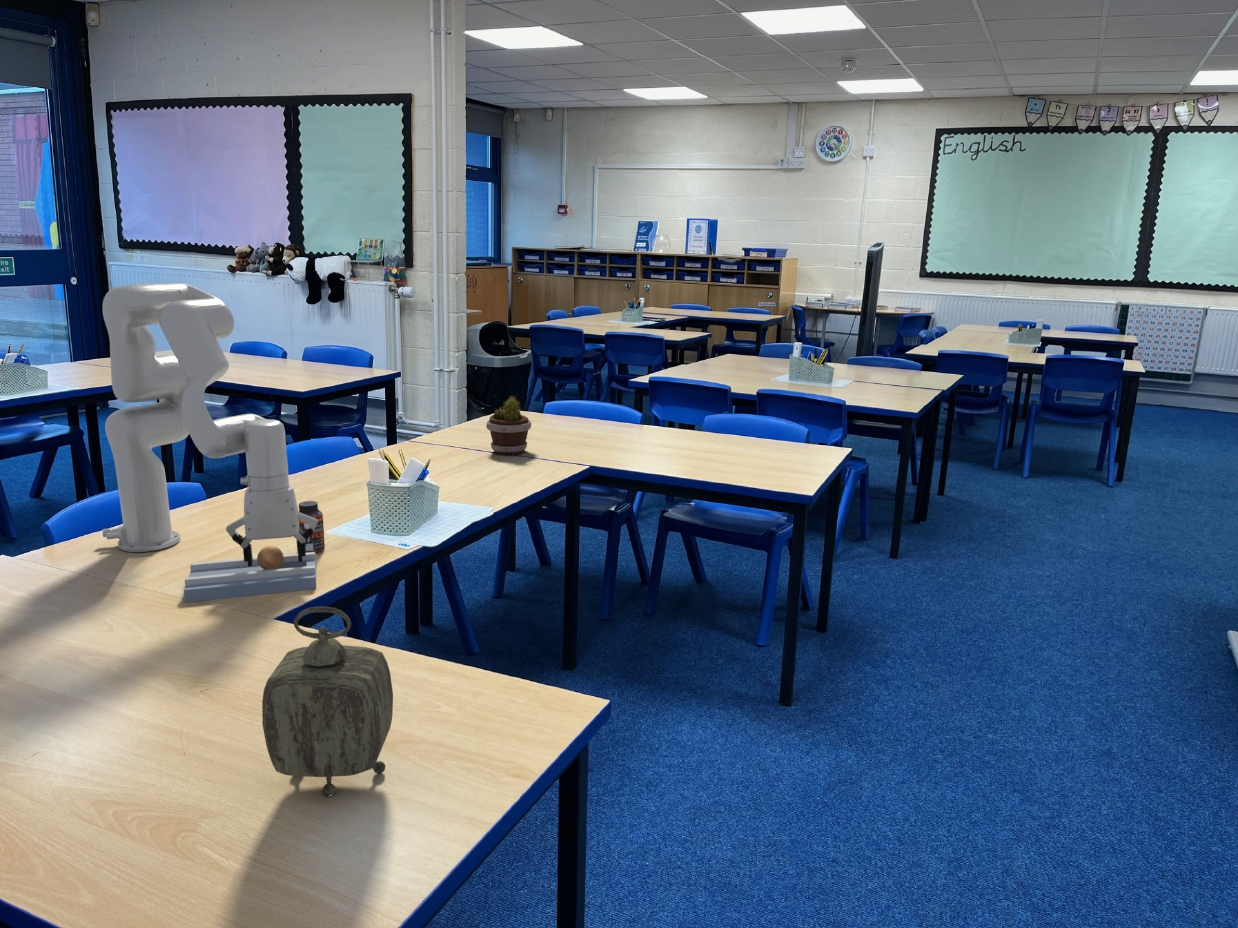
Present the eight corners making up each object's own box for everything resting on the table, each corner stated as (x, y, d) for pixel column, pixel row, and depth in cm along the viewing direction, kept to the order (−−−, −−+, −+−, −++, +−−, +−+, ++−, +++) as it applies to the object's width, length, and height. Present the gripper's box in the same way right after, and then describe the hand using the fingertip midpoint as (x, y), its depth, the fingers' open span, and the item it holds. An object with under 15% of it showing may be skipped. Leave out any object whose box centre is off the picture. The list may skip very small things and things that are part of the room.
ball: (287, 564, 177) (266, 578, 177) (289, 556, 182) (268, 570, 181) (272, 545, 176) (250, 559, 175) (274, 538, 180) (253, 551, 180)
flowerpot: (482, 448, 295) (481, 389, 290) (527, 445, 300) (527, 388, 294) (489, 458, 282) (488, 397, 277) (536, 455, 286) (536, 395, 281)
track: (185, 602, 169) (182, 584, 168) (194, 575, 181) (192, 559, 181) (316, 588, 176) (314, 571, 175) (316, 564, 189) (314, 548, 188)
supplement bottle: (316, 556, 194) (312, 508, 191) (292, 554, 195) (288, 506, 192) (330, 547, 199) (327, 500, 196) (306, 545, 200) (302, 498, 198)
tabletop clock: (396, 765, 118) (388, 593, 112) (381, 807, 110) (370, 624, 103) (288, 765, 118) (273, 593, 111) (264, 808, 109) (246, 623, 103)
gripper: (219, 489, 169) (228, 572, 173) (314, 483, 174) (320, 564, 178) (223, 479, 176) (231, 559, 180) (314, 474, 181) (320, 551, 185)
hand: (275, 561), depth 179 cm, fingers open, 9 cm apart
